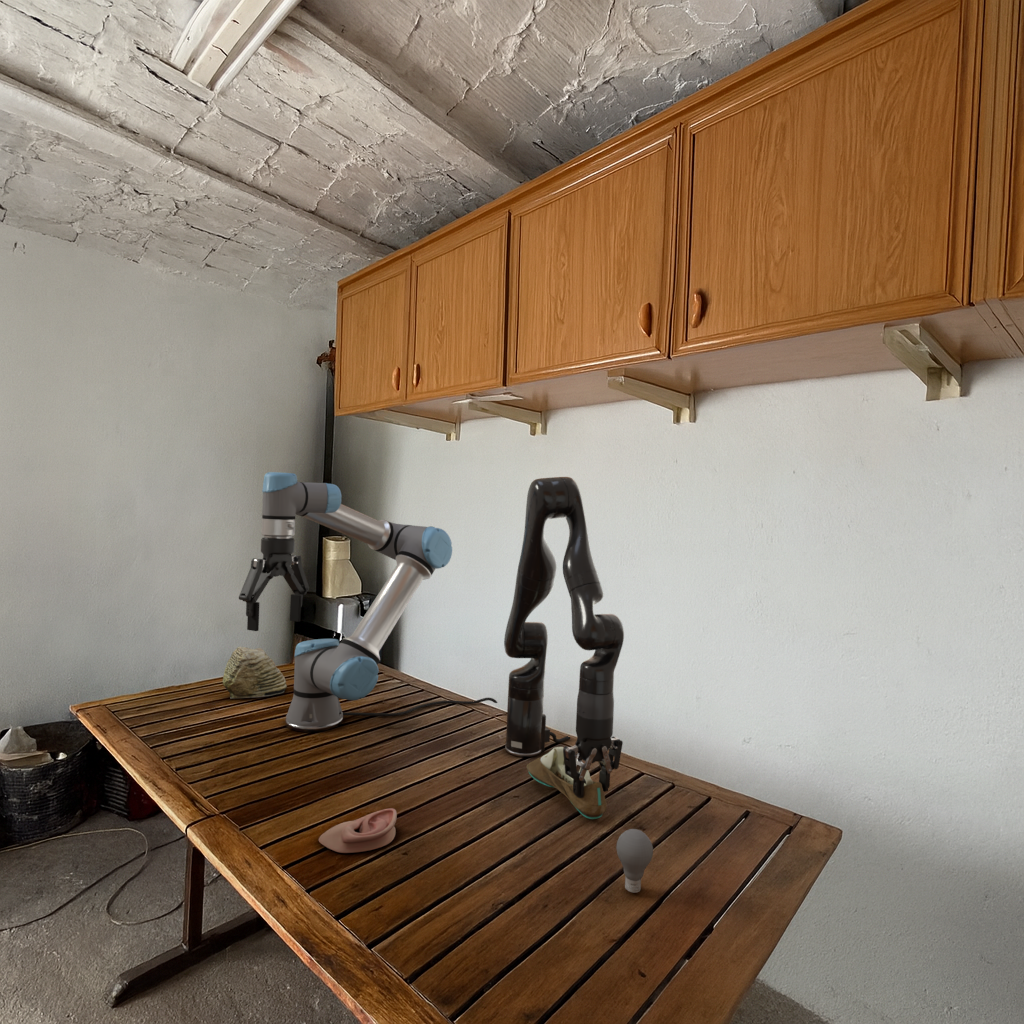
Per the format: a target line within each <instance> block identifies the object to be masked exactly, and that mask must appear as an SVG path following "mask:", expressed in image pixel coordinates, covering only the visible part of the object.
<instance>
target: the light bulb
mask: <svg viewBox="0 0 1024 1024" xmlns="http://www.w3.org/2000/svg"><path fill="white" fill-rule="evenodd" d="M615 849H616V854H617V857H618V859H619V861H620V863H621V865H622V867H623V873H624V874H623V875H624V876H625V878H624V888H625V890H627V891H628V892H630V893H634V894H635V893H639V892H640V891H641V889H642V887H641V886H642V879H643V877H644V875H645V871H646V868H647V867H648V866H649V864H650V863H651V861H652V859H653V855H654V847H653V843H652V841H651V838H649V836H648V835H647V834H646V833H645V832H643V831H642V830H641V829H636V828H629V829H627V830H625V831H623V832H622V833H621V834H620V835H619V837H618V839H617V841H616V847H615Z"/></svg>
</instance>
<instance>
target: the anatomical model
mask: <svg viewBox="0 0 1024 1024" xmlns="http://www.w3.org/2000/svg"><path fill="white" fill-rule="evenodd" d="M397 816H398V813H397V810H396V809H395V808H392V807H390V808H384V809H380V810H377V811H374V812H371V813H369V814H366V815H364V816H362V817H360V818H357V819H354V820H348V821H343V822H341V823H339V824H335V825H334V826H332V827H330V828H328V830H326V831H324V832H323V833H322V834H321V835H320V836H319V837H318V842H319V843H320V844H321V845H322V846H324V847H325V848H327V849H329V850H332V851H333V852H336V853H339V854H351V853H361V852H367V851H372V850H376V849H380V848H382V847H385V846H387V845H389V844H390V843H392V842H393V840H394V839H395V837H396V833H397V832H396V827H395V825H396V823H397V818H398V817H397Z"/></svg>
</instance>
